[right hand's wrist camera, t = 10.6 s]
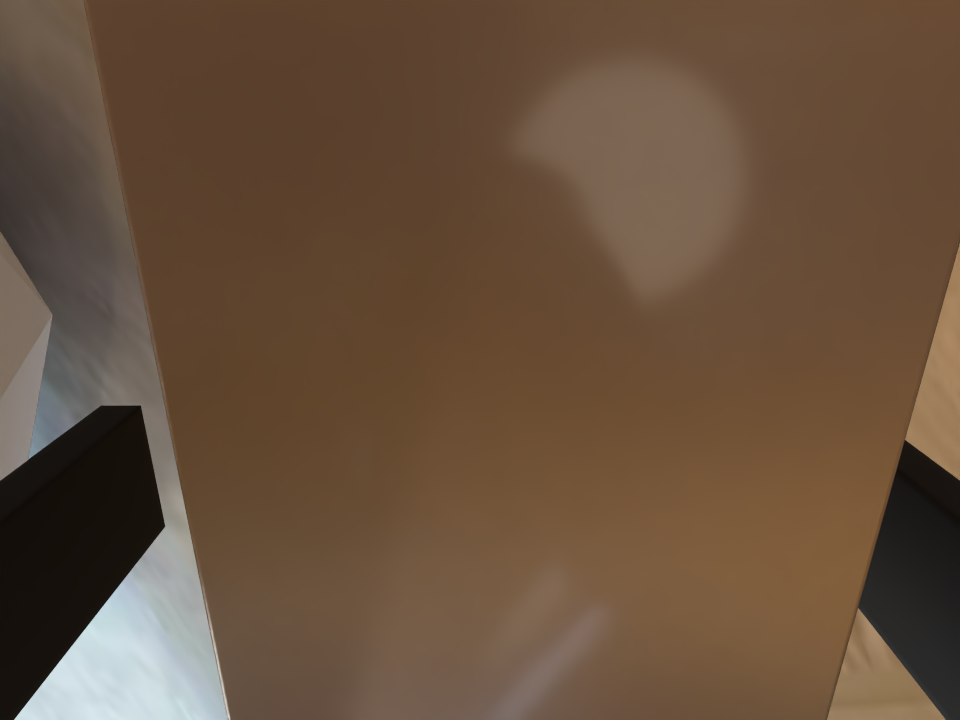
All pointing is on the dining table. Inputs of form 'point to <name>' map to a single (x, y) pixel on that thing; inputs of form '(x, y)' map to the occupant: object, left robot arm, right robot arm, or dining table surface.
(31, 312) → the sphere
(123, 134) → the bar
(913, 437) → the dining table surface
